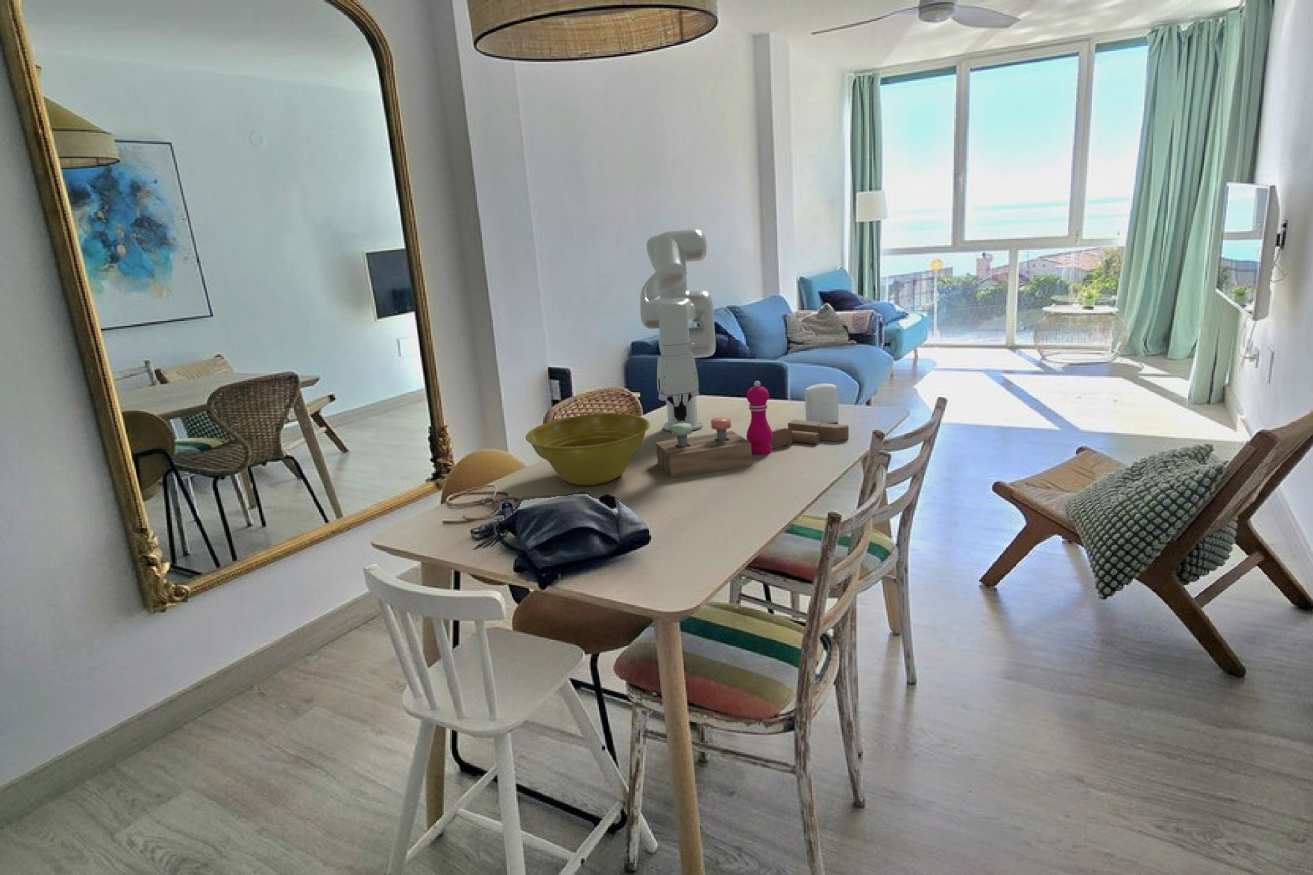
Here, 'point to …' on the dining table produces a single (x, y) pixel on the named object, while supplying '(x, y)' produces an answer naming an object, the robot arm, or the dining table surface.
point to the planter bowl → (589, 445)
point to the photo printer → (821, 403)
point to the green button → (681, 433)
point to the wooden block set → (808, 433)
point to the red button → (721, 427)
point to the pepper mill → (759, 420)
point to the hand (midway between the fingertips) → (680, 419)
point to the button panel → (703, 454)
